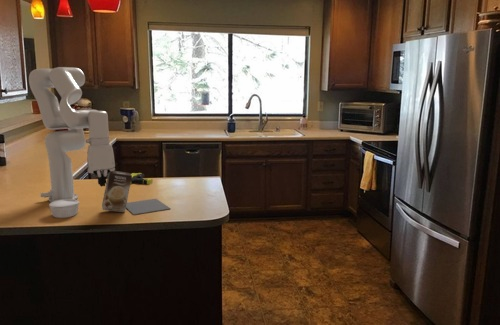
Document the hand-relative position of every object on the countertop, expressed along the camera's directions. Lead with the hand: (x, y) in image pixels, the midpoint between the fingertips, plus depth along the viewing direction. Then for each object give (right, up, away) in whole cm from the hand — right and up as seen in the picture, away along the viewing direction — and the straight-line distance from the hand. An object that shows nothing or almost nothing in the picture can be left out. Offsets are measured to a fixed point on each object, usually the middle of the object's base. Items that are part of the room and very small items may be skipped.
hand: (102, 185), depth 174 cm
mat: (+15, -10, +12) cm, 21 cm away
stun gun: (0, -1, +60) cm, 60 cm away
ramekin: (-15, -12, 0) cm, 20 cm away
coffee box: (+3, -11, +4) cm, 12 cm away
